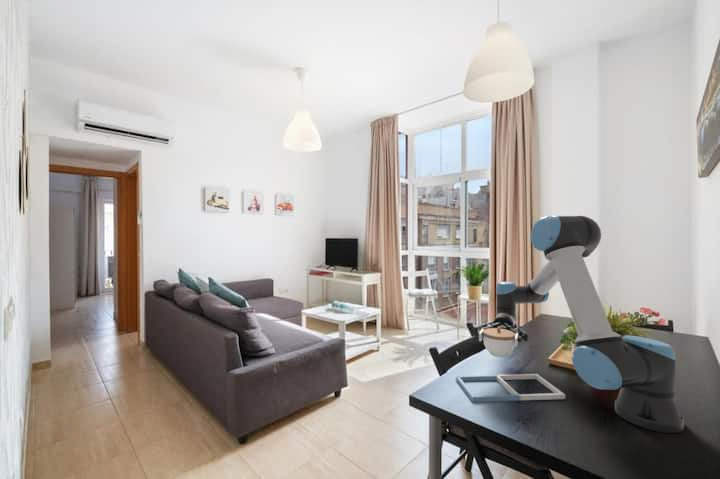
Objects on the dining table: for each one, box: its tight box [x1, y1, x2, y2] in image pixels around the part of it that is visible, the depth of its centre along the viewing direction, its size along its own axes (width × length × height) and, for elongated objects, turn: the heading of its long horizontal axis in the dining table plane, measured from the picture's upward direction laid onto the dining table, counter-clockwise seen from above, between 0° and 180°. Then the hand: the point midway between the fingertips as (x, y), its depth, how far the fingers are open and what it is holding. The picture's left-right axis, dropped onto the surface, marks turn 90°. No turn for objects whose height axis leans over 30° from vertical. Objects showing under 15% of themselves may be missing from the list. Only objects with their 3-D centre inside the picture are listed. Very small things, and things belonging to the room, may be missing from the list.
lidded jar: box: [482, 327, 516, 358], centre depth 114 cm, size 11×11×9 cm
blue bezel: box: [455, 374, 519, 403], centre depth 113 cm, size 16×16×2 cm
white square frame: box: [496, 373, 566, 401], centre depth 114 cm, size 16×16×2 cm
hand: (497, 339), depth 111 cm, fingers closed on lidded jar, 11 cm apart
